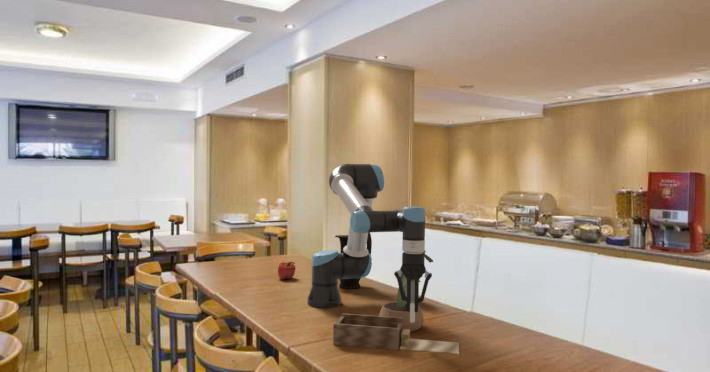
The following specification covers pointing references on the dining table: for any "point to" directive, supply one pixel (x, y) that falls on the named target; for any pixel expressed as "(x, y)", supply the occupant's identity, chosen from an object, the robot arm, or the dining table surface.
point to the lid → (427, 344)
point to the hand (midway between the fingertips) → (412, 321)
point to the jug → (343, 242)
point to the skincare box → (411, 290)
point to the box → (368, 331)
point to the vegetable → (286, 270)
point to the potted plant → (404, 308)
